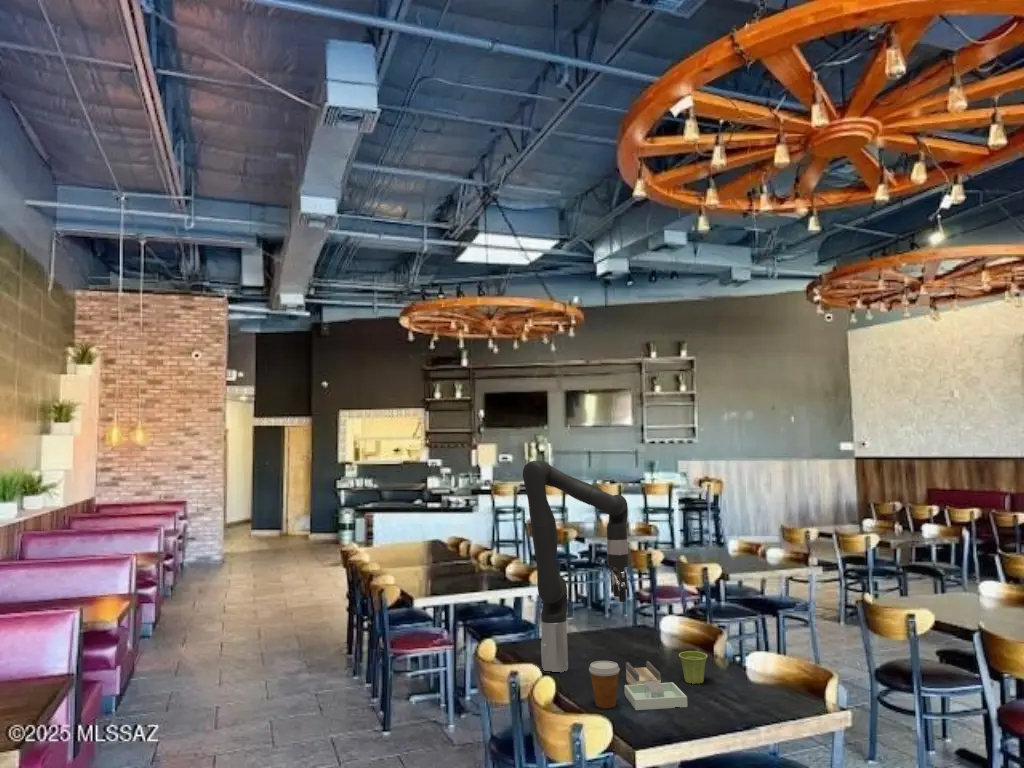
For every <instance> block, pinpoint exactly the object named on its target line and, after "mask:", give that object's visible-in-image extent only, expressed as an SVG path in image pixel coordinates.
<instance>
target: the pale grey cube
mask: <svg viewBox="0 0 1024 768" xmlns="http://www.w3.org/2000/svg"><path fill="white" fill-rule="evenodd" d="M647 687H648V698H660V697H664V689H663V687H662V686H661V685H648V686H647Z"/></svg>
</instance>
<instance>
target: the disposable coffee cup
mask: <svg viewBox="0 0 1024 768" xmlns="http://www.w3.org/2000/svg"><path fill="white" fill-rule="evenodd" d="M620 670H621V668H620V667H619V664H618V663H617V662H616V661H615V662H614V661H610V660H595V661H593V662H591V663H590V665H589V668H588V671H589V673H590V679H591V684H592V691H593V696H594V704H595V706H596V707H597V708H600V709H612V708H614V707H616V705H617V696H618V695H617V694H618V680H619V672H620Z"/></svg>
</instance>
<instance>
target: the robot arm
mask: <svg viewBox="0 0 1024 768" xmlns="http://www.w3.org/2000/svg"><path fill="white" fill-rule="evenodd" d="M522 479H523V484H524V488H525V491H526V497H527V501H528V502H527V503H528V510H529V511H528V512H529V520H530V529H531V537H532V542H533V543H532V544H533V550H534V555H535V562H536V573H537V574H536V575H537V576H536V578H537V579H536V580H537V593H538V596H539V598H540V599H541V600H542V610H541V613H540V623H541V624H540V625H541V627H540V630H541V641H540V649H541V650H540V655H541V669H542V668H543V669H542V671H543V670H544V671H552V672H560V673H564V671H565V672H567V671H568V670H569V659H568V658H569V654H568V650H569V649H568V630H567V629H568V627H567V626H568V625H567V623H568V622H567V614H568V586H567V583H566V582H567V581H565V578H563V576H561V575H560V574H559V572H558V567H557V553H558V538H559V537H558V530H557V523H556V518H555V515H554V513H553V510H552V508H551V506H550V503H549V501H548V497H547V491H546V490H547V489H546V486H548V487H552V488H554V489H558V490H559V491H562V492H564V493H565V494H567V495H568V496H570V497H572V498H573V499H575V500H577V501H578V502H579V501H580V502H581V503H584V504H587V505H589V506H591V507H593V508H596V509H597V510H599V511H601V512H602V513H604V514H606V515H608V523H607V525H606V559H607V560H606V561H607V563H606V565H607V566H608V567H610V579H611V580H610V582H611V585H612V587H613V591H612V592H613V596H614V597H615V598H618V602H620V603H625V602H626V601H627V597H626V596H627V595H626V591H627V590H628V577H627V576H628V575H627V574H628V573H627V571H625V570H624V568H625V567H629V565H630V560H629V557H630V555H629V554H630V553H629V543H628V531H627V530H628V529H627V523H628V509H629V508H628V507H629V505H628V501H627V500H626V497H624V496H623V495H621V494H611V493H608V492H605V491H603V490H602V488H600V487H598V486H596V485H593V484H591V483H588V482H586V481H584V480H581V479H578V478H575V477H573V476H571V475H568V474H566V473H564V472H563V471H560V470H559V469H558V468H555V467H554V466H552V465H551V464H549V463H547V462H545V460H533V461H532V460H531V461H528V462H527V463H526V464H524V467H523V470H522ZM544 671H543V672H544Z"/></svg>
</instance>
